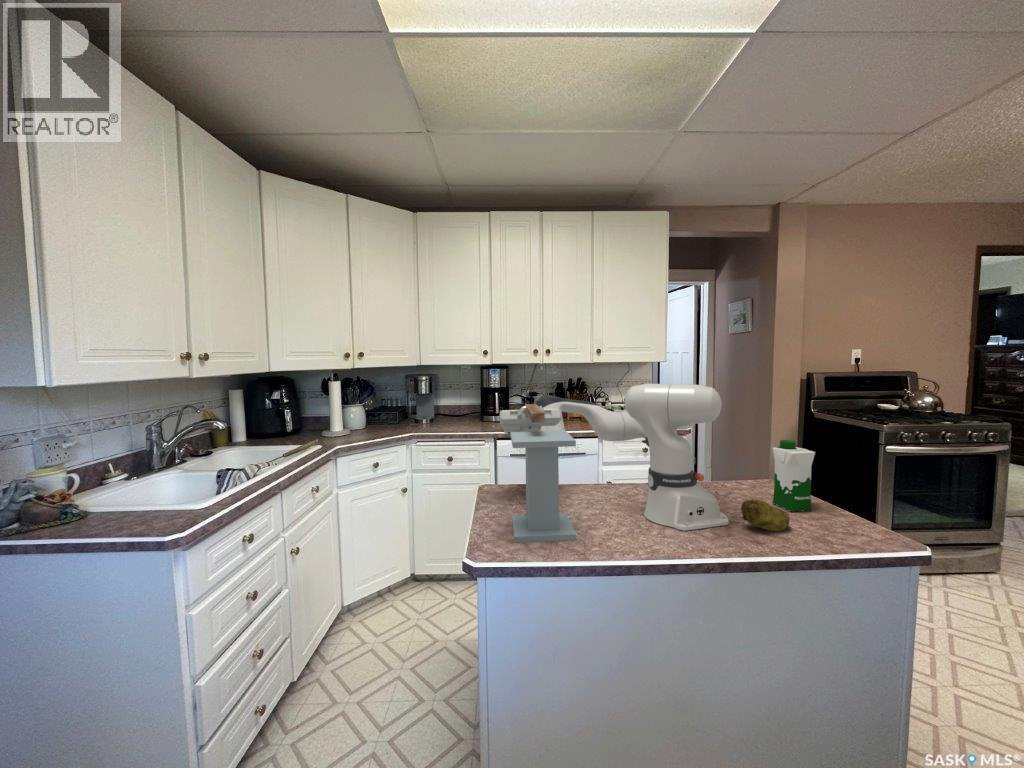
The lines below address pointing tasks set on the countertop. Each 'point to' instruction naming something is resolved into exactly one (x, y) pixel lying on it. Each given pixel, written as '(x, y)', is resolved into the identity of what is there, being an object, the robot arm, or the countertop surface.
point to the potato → (764, 515)
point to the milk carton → (792, 476)
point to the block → (535, 413)
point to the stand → (542, 488)
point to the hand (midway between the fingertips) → (531, 408)
